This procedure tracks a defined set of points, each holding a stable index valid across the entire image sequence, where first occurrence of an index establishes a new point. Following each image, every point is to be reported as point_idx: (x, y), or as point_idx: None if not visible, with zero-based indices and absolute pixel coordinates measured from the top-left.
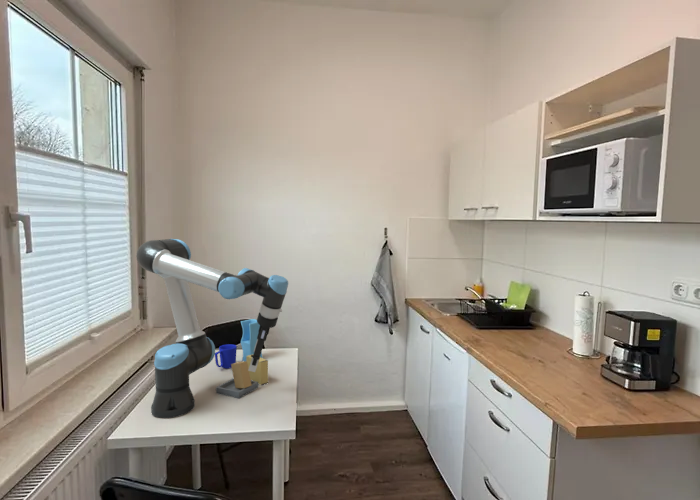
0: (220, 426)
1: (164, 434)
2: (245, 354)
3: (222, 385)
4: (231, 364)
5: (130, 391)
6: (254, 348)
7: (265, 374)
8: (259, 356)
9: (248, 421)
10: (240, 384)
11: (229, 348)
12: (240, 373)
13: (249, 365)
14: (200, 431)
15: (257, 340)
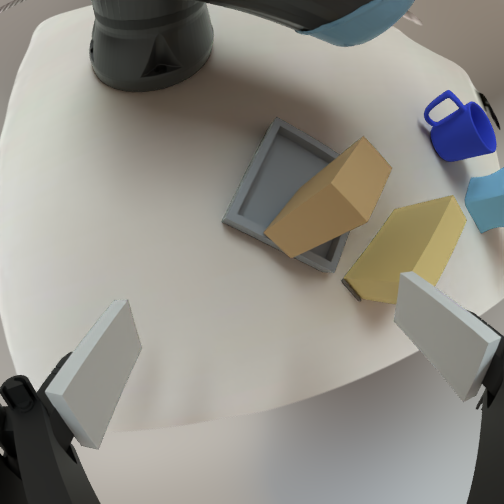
0: (18, 222)
1: (14, 94)
2: (484, 183)
3: (297, 136)
4: (361, 138)
5: None
6: (416, 285)
7: (376, 294)
8: (7, 464)
9: (44, 307)
10: (284, 209)
11: (484, 134)
12: (303, 200)
13: (420, 215)
14: (3, 174)
15: (468, 334)
